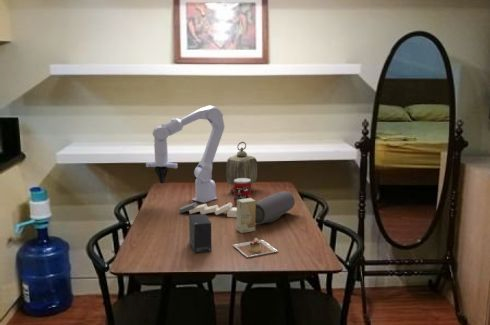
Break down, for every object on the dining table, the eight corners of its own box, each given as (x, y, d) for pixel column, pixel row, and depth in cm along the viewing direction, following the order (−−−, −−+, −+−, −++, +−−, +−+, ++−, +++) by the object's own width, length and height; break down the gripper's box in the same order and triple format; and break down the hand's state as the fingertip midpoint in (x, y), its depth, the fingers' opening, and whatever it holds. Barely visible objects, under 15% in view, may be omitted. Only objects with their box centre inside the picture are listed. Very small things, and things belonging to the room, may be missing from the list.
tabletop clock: (243, 186, 249) (243, 139, 244) (258, 189, 244) (258, 140, 238) (226, 193, 237) (225, 143, 232) (241, 196, 232) (241, 144, 227)
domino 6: (227, 214, 201) (243, 215, 200) (230, 211, 205) (246, 212, 204) (227, 217, 202) (243, 219, 200) (230, 214, 206) (246, 215, 204)
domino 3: (200, 211, 204) (215, 207, 202) (202, 208, 208) (217, 204, 207) (201, 214, 204) (216, 211, 203) (204, 211, 209) (218, 208, 207)
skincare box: (241, 233, 182) (241, 202, 179) (236, 230, 185) (235, 199, 183) (256, 230, 184) (256, 200, 182) (250, 227, 188) (250, 197, 186)
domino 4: (214, 211, 203) (228, 205, 201) (217, 208, 207) (230, 202, 205) (216, 215, 203) (230, 208, 201) (219, 212, 208) (232, 205, 206)
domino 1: (178, 209, 206) (193, 204, 204) (182, 206, 210) (196, 201, 209) (180, 213, 206) (194, 208, 205) (183, 210, 211) (197, 205, 209)
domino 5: (227, 210, 201) (244, 210, 200) (229, 207, 206) (245, 207, 205) (227, 213, 202) (244, 214, 201) (229, 210, 206) (245, 211, 205)
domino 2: (188, 210, 205) (203, 206, 204) (191, 207, 210) (206, 203, 208) (189, 213, 206) (204, 209, 204) (192, 210, 210) (207, 206, 208)
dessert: (246, 260, 159) (246, 246, 158) (232, 247, 169) (232, 234, 168) (278, 254, 164) (278, 240, 163) (262, 242, 174) (262, 229, 173)
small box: (213, 251, 165) (212, 222, 162) (194, 254, 163) (193, 224, 161) (206, 240, 175) (205, 213, 172) (188, 242, 173) (187, 215, 171)
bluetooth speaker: (277, 210, 210) (277, 188, 207) (295, 214, 204) (296, 191, 202) (247, 224, 191) (246, 200, 189) (266, 229, 186) (266, 204, 184)
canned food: (231, 204, 218) (231, 181, 216) (238, 200, 225) (237, 177, 223) (247, 206, 215) (246, 182, 213) (253, 201, 222) (253, 178, 220)
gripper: (142, 154, 213) (143, 184, 216) (172, 155, 210) (174, 185, 212) (149, 151, 220) (150, 180, 223) (178, 152, 216) (179, 182, 219)
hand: (162, 182), depth 218 cm, fingers closed
